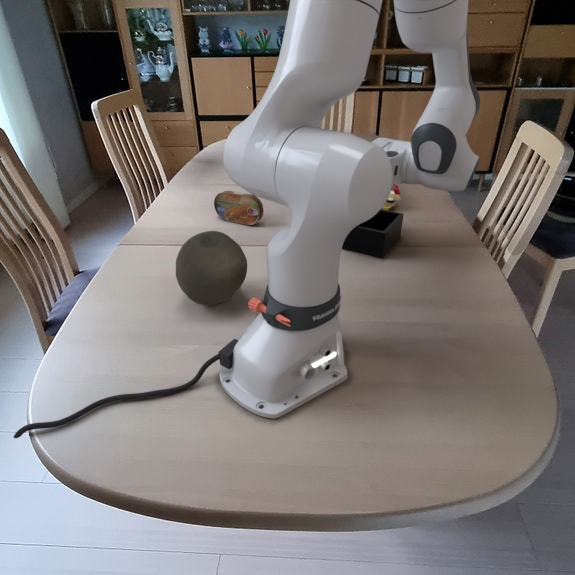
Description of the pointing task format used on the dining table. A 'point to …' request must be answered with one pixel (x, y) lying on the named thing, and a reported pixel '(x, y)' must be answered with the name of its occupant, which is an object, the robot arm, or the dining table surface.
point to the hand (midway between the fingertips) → (343, 151)
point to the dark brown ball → (210, 268)
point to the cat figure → (392, 198)
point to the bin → (375, 234)
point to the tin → (238, 207)
